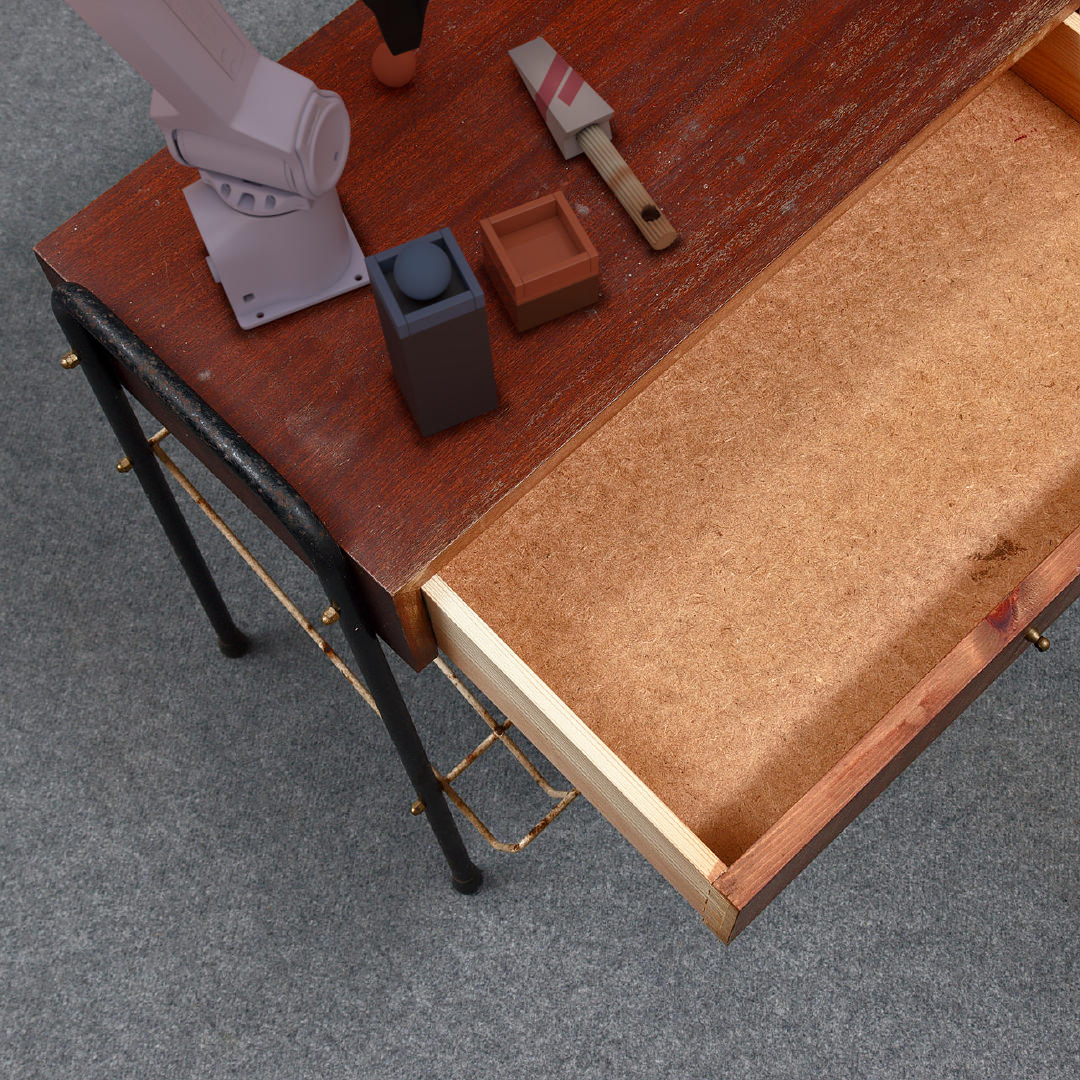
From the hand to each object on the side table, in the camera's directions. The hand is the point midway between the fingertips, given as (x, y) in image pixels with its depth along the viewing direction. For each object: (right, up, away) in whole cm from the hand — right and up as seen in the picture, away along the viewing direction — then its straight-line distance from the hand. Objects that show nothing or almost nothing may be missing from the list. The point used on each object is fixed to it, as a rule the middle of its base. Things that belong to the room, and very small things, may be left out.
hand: (385, 11), depth 88 cm
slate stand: (+5, -27, -6) cm, 28 cm away
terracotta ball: (0, -2, +4) cm, 5 cm away
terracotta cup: (+11, -20, -3) cm, 23 cm away
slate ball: (+4, -22, -17) cm, 28 cm away
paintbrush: (+14, -9, +2) cm, 17 cm away
